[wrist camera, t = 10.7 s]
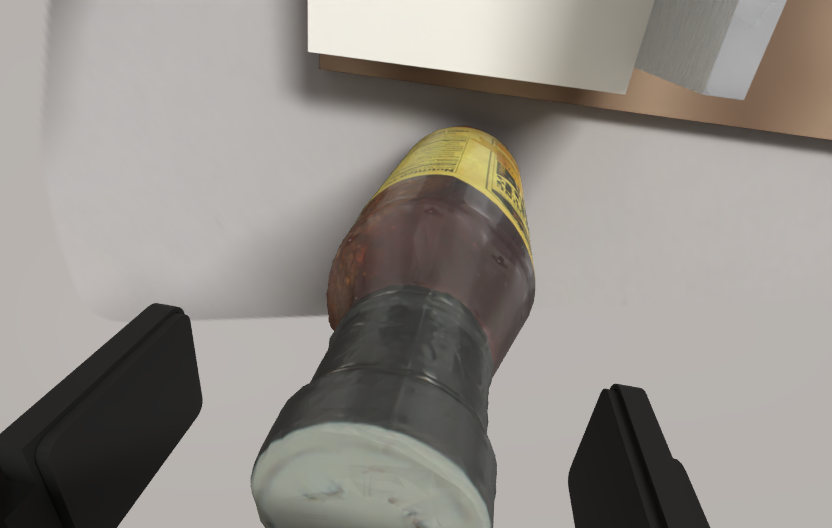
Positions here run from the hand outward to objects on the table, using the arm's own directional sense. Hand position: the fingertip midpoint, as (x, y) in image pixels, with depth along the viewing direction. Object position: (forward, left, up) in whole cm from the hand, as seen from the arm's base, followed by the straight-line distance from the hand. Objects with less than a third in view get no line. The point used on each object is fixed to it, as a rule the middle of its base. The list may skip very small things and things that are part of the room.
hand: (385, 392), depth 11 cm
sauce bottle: (0, 0, -17) cm, 17 cm away
